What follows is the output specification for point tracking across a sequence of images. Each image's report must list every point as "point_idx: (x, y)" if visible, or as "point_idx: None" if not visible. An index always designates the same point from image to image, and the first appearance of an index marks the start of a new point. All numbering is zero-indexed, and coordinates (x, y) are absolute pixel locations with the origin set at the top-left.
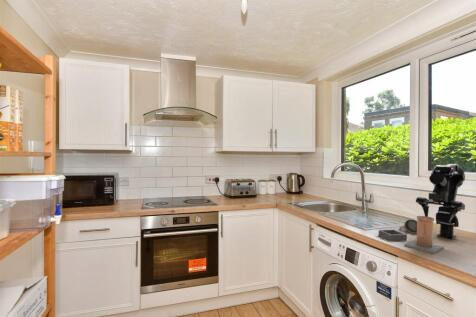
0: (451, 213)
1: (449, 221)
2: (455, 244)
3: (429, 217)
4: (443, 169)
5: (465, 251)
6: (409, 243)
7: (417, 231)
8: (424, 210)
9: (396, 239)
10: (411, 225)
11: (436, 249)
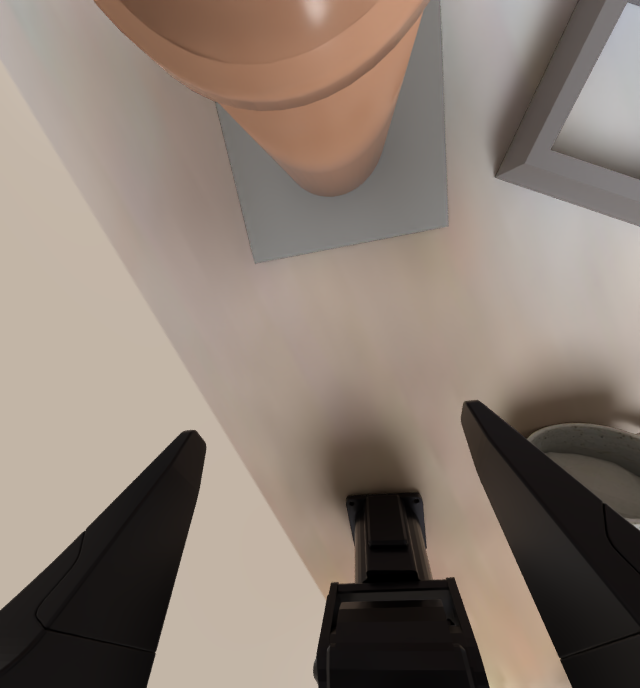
0: (60, 571)
1: (182, 442)
2: (285, 415)
3: (219, 12)
4: None
5: (192, 334)
6: (418, 31)
7: None
8: (608, 529)
9: (563, 46)
10: (607, 477)
11: (231, 124)
